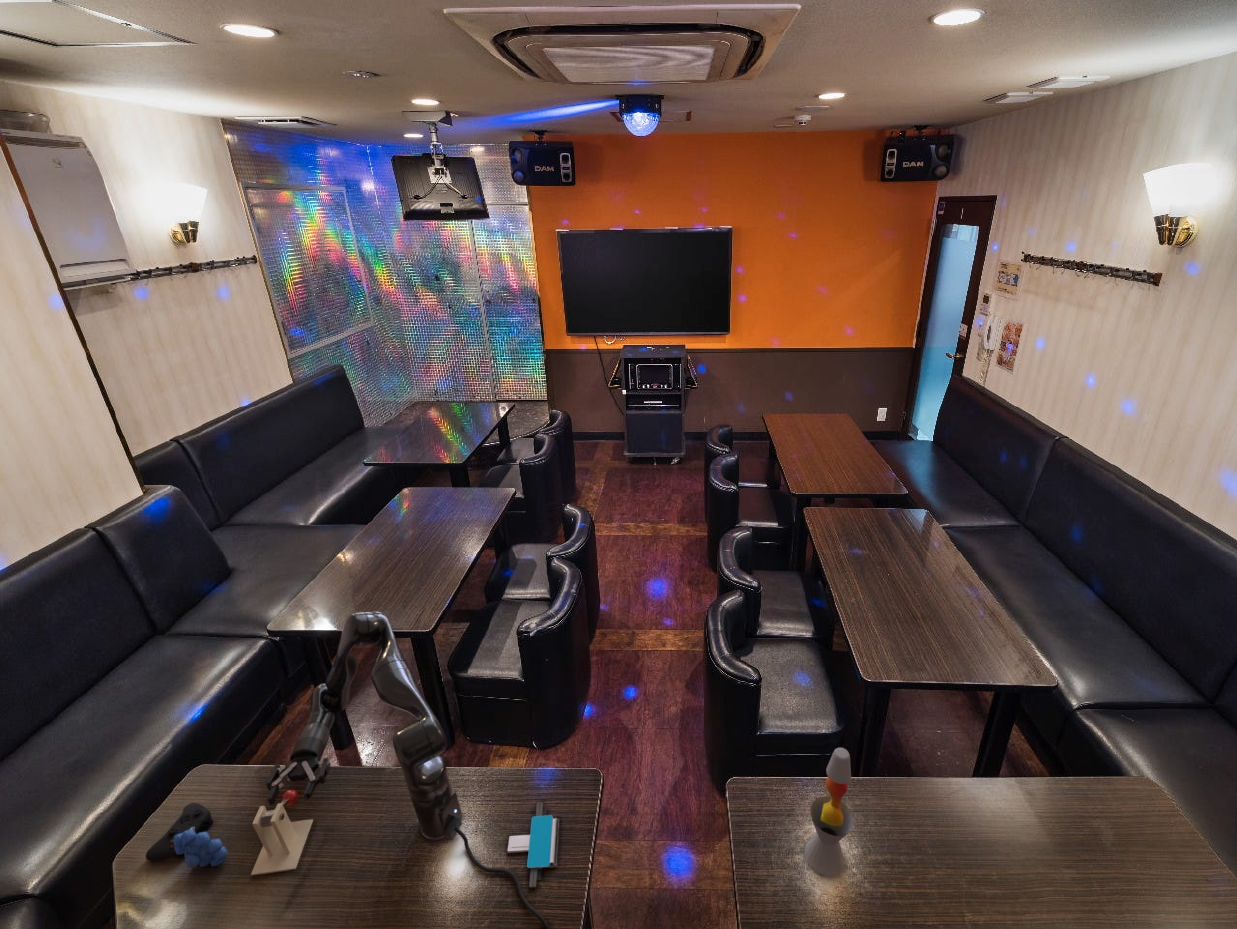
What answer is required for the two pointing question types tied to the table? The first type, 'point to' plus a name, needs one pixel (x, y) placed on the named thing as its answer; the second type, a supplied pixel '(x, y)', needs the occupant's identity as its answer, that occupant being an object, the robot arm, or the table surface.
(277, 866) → the switch bracket
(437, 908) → the table surface
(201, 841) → the grapes
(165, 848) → the gaming controller
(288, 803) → the power lever
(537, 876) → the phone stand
